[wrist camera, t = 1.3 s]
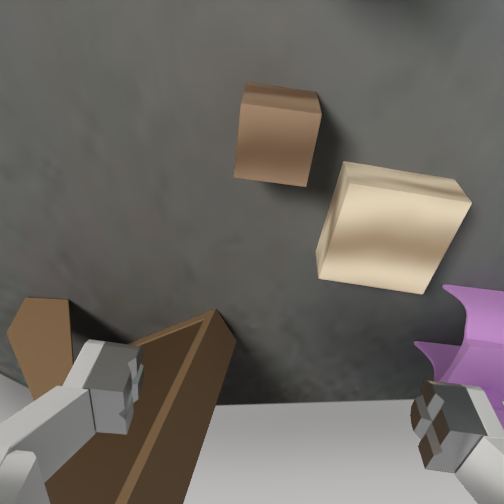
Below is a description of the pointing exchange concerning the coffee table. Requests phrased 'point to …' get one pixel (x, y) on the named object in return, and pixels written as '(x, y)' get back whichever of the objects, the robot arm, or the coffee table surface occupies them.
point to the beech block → (388, 227)
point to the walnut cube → (277, 134)
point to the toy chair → (474, 346)
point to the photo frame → (145, 408)
